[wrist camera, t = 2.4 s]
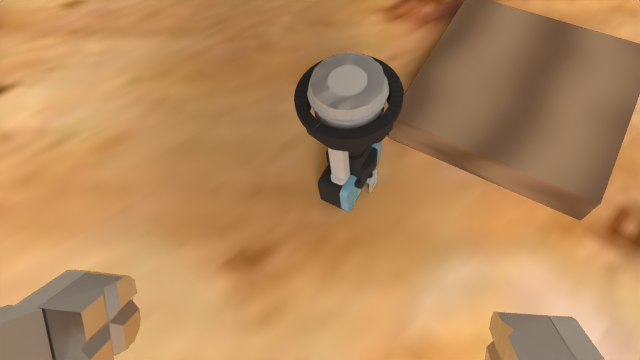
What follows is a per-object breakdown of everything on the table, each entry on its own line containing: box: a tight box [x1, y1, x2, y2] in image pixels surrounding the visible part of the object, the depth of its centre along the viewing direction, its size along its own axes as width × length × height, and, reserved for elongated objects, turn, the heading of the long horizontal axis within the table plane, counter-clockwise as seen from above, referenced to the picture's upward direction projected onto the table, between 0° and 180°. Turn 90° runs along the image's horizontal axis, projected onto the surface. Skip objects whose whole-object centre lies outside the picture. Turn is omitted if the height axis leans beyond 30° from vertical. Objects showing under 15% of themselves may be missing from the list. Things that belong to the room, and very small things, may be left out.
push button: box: [294, 52, 403, 212], centre depth 24 cm, size 7×5×10 cm
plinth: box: [389, 0, 640, 221], centre depth 29 cm, size 13×13×2 cm
